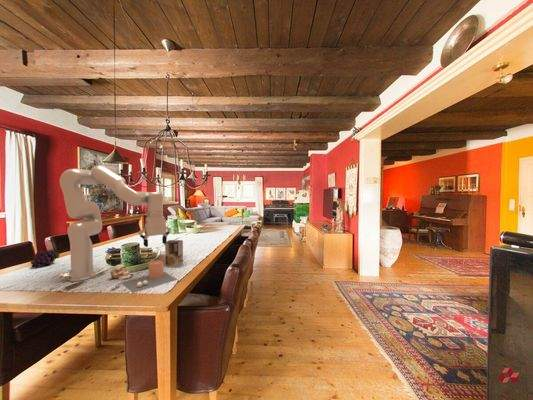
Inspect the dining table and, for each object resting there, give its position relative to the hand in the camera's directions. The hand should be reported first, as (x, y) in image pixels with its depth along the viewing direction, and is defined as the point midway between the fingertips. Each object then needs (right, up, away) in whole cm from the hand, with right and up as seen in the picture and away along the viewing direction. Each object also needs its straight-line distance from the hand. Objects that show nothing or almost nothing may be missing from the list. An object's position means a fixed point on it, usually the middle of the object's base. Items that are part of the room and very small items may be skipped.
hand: (155, 245), depth 126 cm
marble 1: (-1, -18, -13) cm, 23 cm away
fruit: (-80, -17, +19) cm, 84 cm away
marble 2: (0, -18, -11) cm, 21 cm away
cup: (0, -18, +1) cm, 18 cm away
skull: (-19, -19, -1) cm, 26 cm away
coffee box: (+2, -18, +21) cm, 27 cm away
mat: (0, -19, -6) cm, 19 cm away
